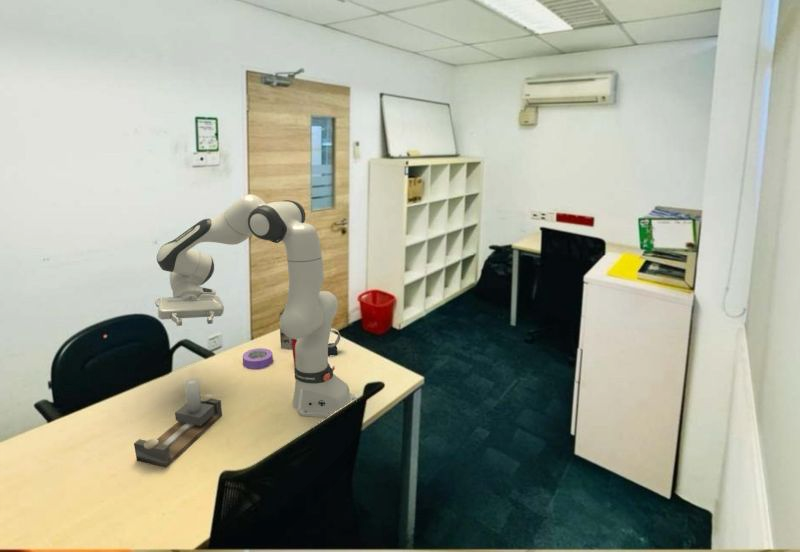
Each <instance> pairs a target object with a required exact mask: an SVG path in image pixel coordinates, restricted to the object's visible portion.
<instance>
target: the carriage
mask: <svg viewBox="0 0 800 552" xmlns="http://www.w3.org/2000/svg"><path fill="white" fill-rule="evenodd" d="M199 383H200V382H199V379H198V378H195V377H192V378H190V377H189V378H187V379H186V380H184V389H185V397H186V398H185V399H186V403H184V405H183V406H181V407H180V408H178V410H176V411H175V412H174V414H175V416H174V417H175V421H177V422H178V421H180V422H185V423H189V424H194V425H199V426H201V425H202V424H203V423H204V422H206V421H207V420H208V419H209V418H210V417H211V416H212V415H213V414H214V413H215V412H214V405H210V404H205V403H201V399H200V396H201V392H200V384H199Z"/></svg>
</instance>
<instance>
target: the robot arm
mask: <svg viewBox="0 0 800 552" xmlns="http://www.w3.org/2000/svg"><path fill="white" fill-rule="evenodd" d="M305 221H306V212H305V209H304V207H303V206H302V205H301V203H298V202H297V201H294V200H289V199H288V200H287V199H285V200H279V201H272V202H268V203H266V202H265V201H264V200H263V199H262V198H261V197H260V196H257V195H256V194H250V193H249V194H245V195H243V196H242V197H240V198H239V199H237V200H236V201H234V202H233V203H232V204H231V205H230V206H229V207H227V209H226V210H225V211H223V212H222V213H220V214H219V215H217V216H216V215H215V216H213V217H210V218H205V219H201V220H199V221H198V222H196V223H195V224H194V225H193V226H190V228H188V229H187V230H185V231H184V232H183V233H181V234H180V235H179V236H177V237H176V238H174V239H173V240H171V241H168V242H167V243H164V244H163V245H162V246H161V247H160V248H159V249H158V252H157V254H156V262H157V264H158V265H159V267H160V269H161V270H162V271H165V272H169V284H170V289H171V291H172V297H170V296H169V297H160V298H158V299H155V301H154V304H155V306H156V307H157V308H158V309H157V315H158V316H157V317H158V319H160V320H171V321H172V322H173V323H175V325H176V327H181V326H183V319H193V318H195V319H196V318H206V323H207V325H209V324H210V325H211V324H212V325H213V323H214V322H213V321H214V318H215V317H221V316H222V315H224V310H225V307H224V303H223V301H222V300H221V298H220V297H219V296H218V295H216V294H217V293H216V290H215V289H213V288H206V287H204V286H203V285H204V284H205V283H206V282H208V281H209V280H210V278H211V277H212V275H213V274H214V272H215V263H214V258H213V257H212V256H211V255H210V254H207V253H205V252H201V251H199V250H195V249H193V248H194V247H195V246H197V245H198V244H201V243H205V242H206V243H218V244H224V245H231V246H232V245H238V244H241V243H243V242H244V241H246V240H248V238H249V237H251V235H253V236H254V237H256V238H258V239H260V240H265V241H269V242H272V243H274V244H278V243H280V242H282V243H283V245H284V246H285V252H286V261H287V269H288V281H289V282H288V292H287V296H286V297H287V298H286V302H285V303H286V304H285V307H284V309H283V310H284V312H283V314H282V315H281V317H279V329H280V328H281V330H282V332H283V333H284V334H285V335H286V336H287V337H289V338H291V339H298V340H297V342H296V345H295V363H296V364H295V366H294V380H295V383H294V384H295V386H294V392H293V397H292V400H291V401H292V402H291V403H292V406H293V407H294V409H296V410H297V413H298V415H299V416H303V417H316V418H317V417H319V418H329V417H328V416H330V415H331V414H333V413H334V412H335V411H337V410H339V409H340V408H342V407H344V406H345V405H347V404H348V403H350V402H351V401H353V400H355V399H356V400H357V397H356V395H355V394H353V393H351V392H350V388H349V385H348V383H346V382H345V381H343V380H342V378H340V377H339V376H337V375H336V374H335V373H334V370H335V369H336V368H335V365H333V366H332V367H331V366H330V364H329V356H328V344H329V340H330V335H331V332H332V331H331V328H333V322H334V319H335V316H336V314H337V312H338V310H339V302H338V299H337V297H336V295H335V294H333V293H332V292H331V291H328V290H322V291H321V288H322V285H323V283H324V278H325V277H324V276H325V275H324V266H323V265H324V264H323V255H322V254H323V253H322V246H321V242H320V237H319V233H318V232H317V229H316V228H315V226H313V225H312V224H311V223H307V222H305Z"/></svg>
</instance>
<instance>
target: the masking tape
mask: <svg viewBox="0 0 800 552" xmlns="http://www.w3.org/2000/svg"><path fill="white" fill-rule="evenodd" d="M273 358H274V356H273V352H272V350H270V349H269V348H268V349H267V348H264V347H262V348H261V347H260V348H253V349H252V348H251V349H248V350H247V351H245V352H244V353H243V354H242V365H243V367H244V368H246V369H248V370H261V369H266V368H268V367H269V366H272V364H273V362H274V359H273Z"/></svg>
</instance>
